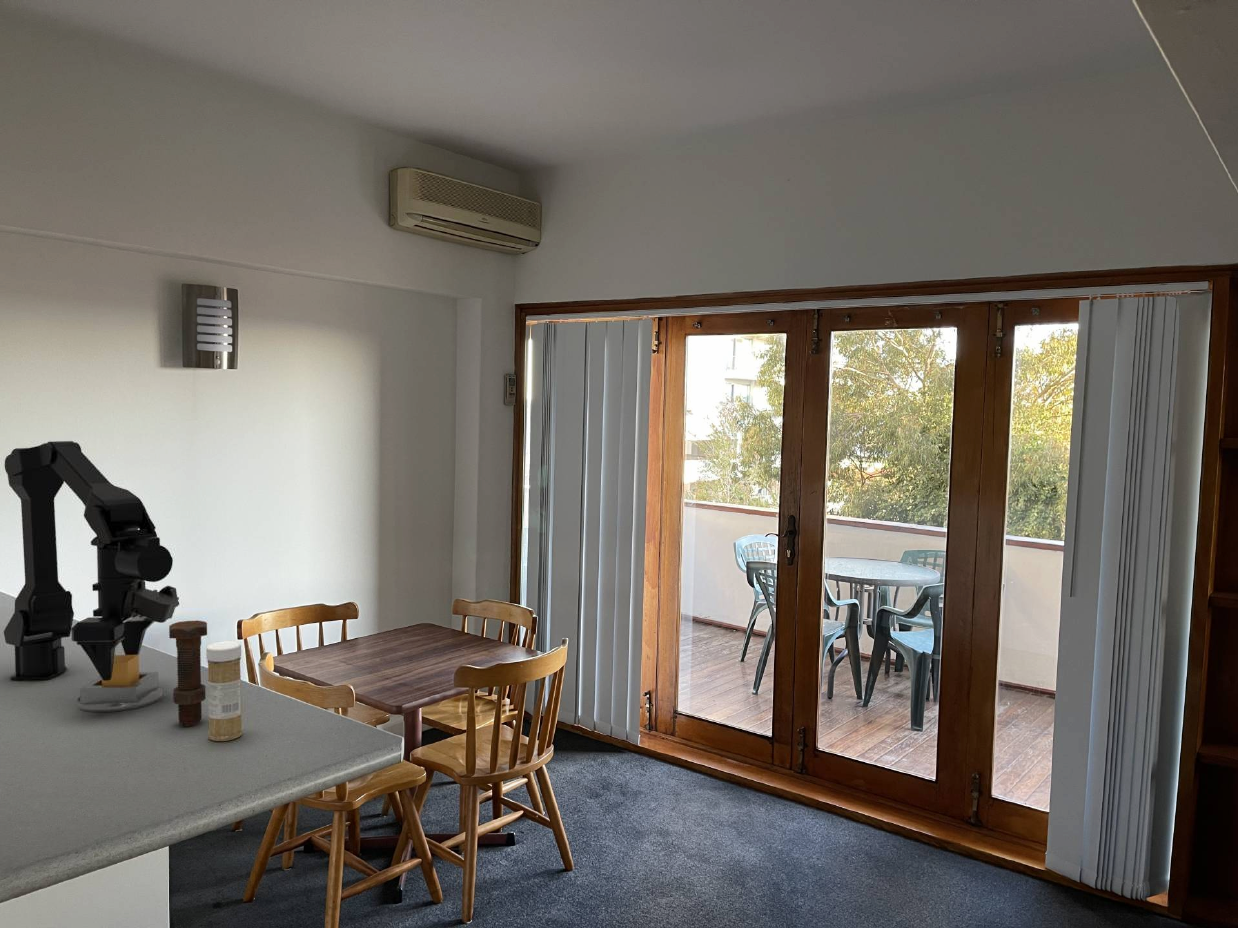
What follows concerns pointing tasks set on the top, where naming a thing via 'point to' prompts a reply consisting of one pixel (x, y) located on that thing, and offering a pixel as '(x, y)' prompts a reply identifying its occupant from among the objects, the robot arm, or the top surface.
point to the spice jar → (224, 690)
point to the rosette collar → (120, 694)
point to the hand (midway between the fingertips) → (120, 671)
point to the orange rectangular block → (124, 670)
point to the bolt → (189, 670)
